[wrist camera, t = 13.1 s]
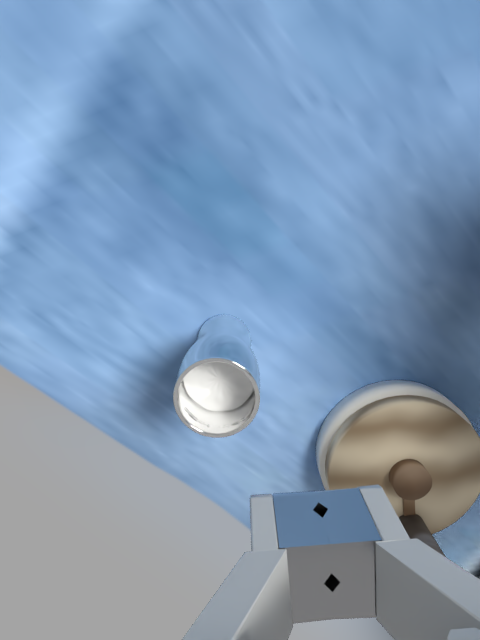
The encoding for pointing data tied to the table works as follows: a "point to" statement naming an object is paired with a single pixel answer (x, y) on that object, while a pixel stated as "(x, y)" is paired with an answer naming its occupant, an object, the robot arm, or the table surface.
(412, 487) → the tan disc with handle
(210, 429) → the beer glass
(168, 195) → the table surface
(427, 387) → the stand
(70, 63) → the table surface
